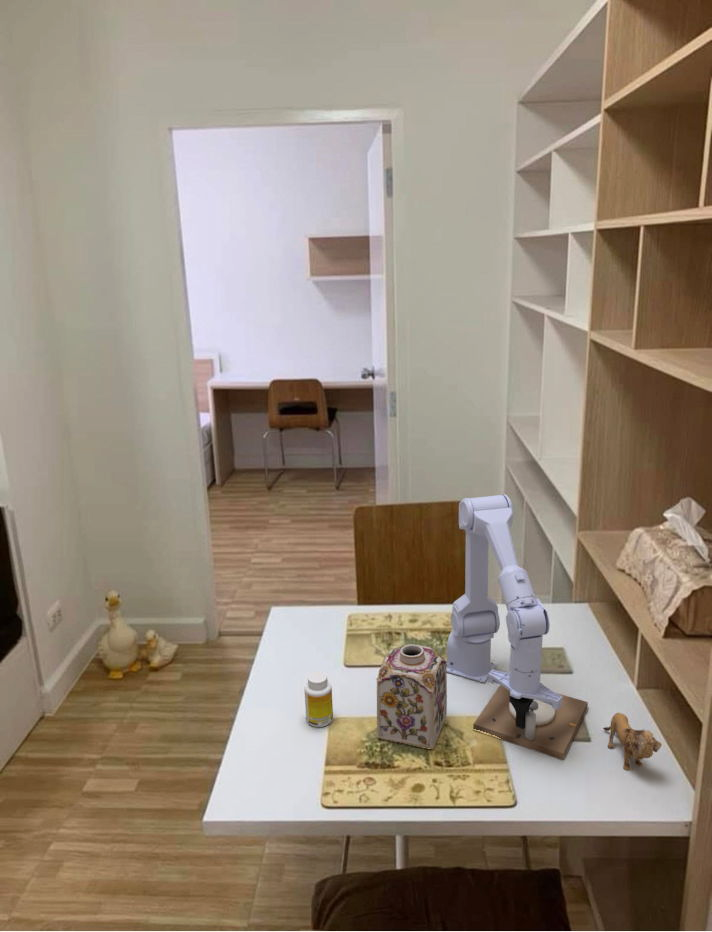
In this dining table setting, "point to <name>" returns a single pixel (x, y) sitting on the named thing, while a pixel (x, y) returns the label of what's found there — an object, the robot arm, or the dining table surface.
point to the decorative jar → (412, 695)
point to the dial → (535, 717)
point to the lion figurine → (632, 740)
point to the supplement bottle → (318, 700)
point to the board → (547, 737)
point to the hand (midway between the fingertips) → (522, 725)
